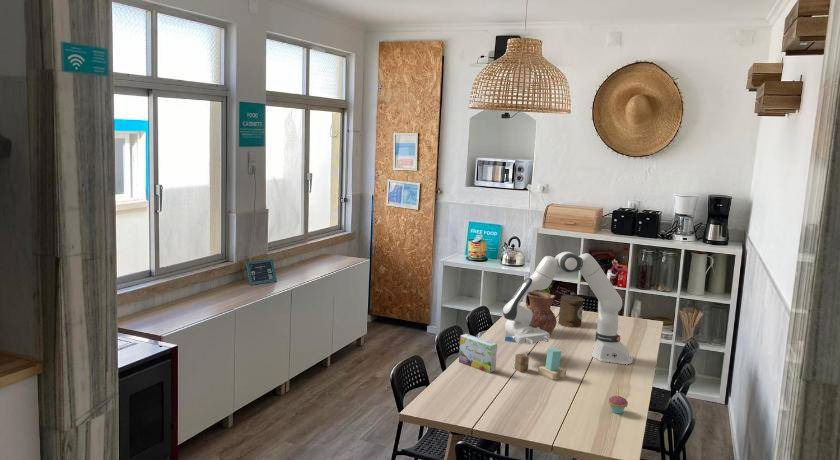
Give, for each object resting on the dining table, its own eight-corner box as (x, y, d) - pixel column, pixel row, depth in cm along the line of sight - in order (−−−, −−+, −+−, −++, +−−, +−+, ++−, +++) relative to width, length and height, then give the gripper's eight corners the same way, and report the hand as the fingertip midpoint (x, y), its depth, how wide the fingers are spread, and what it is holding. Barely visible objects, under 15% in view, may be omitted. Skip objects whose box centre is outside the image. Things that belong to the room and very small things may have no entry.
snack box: (457, 362, 357) (459, 335, 355) (464, 360, 362) (466, 333, 359) (489, 373, 343) (491, 345, 341) (496, 371, 347) (498, 343, 345)
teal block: (553, 366, 348) (556, 348, 347) (558, 370, 344) (561, 351, 342) (545, 366, 346) (547, 348, 345) (550, 370, 342) (553, 351, 340)
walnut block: (522, 367, 354) (523, 353, 353) (527, 371, 350) (529, 356, 349) (514, 368, 352) (515, 354, 351) (519, 372, 348) (521, 357, 347)
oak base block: (551, 371, 353) (552, 364, 352) (565, 377, 345) (566, 370, 344) (538, 374, 347) (538, 367, 346) (552, 380, 339) (552, 373, 338)
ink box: (518, 342, 398) (520, 323, 396) (504, 340, 400) (506, 321, 398) (519, 338, 406) (521, 319, 405) (505, 336, 408) (507, 318, 406)
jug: (560, 332, 423) (563, 294, 419) (547, 340, 405) (551, 300, 402) (528, 325, 435) (531, 288, 431) (514, 332, 417) (517, 293, 413)
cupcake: (604, 407, 308) (607, 382, 306) (622, 407, 309) (625, 383, 307) (611, 415, 299) (614, 390, 298) (629, 415, 300) (632, 390, 298)
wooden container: (583, 328, 435) (586, 295, 432) (560, 326, 435) (563, 294, 432) (578, 321, 450) (581, 290, 447) (556, 320, 450) (559, 288, 447)
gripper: (510, 330, 363) (524, 337, 351) (540, 326, 373) (556, 333, 360) (509, 341, 364) (524, 349, 352) (539, 337, 373) (555, 344, 361)
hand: (540, 341), depth 356 cm, fingers open, 8 cm apart
